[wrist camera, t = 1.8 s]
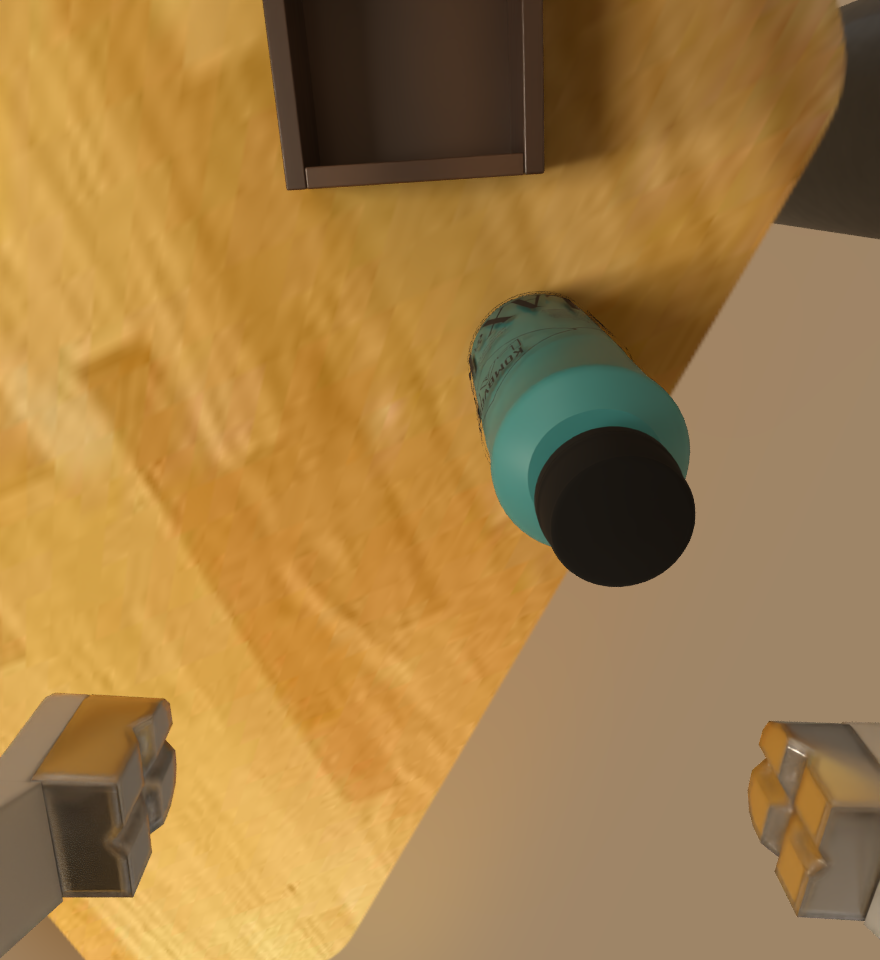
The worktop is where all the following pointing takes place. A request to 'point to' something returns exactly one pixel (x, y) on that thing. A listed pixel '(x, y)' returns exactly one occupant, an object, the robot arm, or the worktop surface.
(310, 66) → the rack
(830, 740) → the robot arm
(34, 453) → the worktop surface
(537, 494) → the beverage bottle
